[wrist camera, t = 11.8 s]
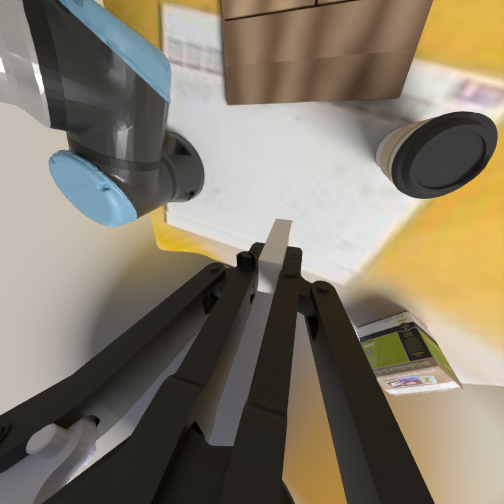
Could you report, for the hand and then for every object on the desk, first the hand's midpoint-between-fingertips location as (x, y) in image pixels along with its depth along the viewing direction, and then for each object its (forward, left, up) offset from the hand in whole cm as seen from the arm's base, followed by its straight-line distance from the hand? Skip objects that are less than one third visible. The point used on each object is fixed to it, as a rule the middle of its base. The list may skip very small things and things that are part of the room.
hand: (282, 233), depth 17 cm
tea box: (+32, -41, -27) cm, 58 cm away
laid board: (-1, +17, -26) cm, 31 cm away
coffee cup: (+16, +5, -27) cm, 31 cm away
